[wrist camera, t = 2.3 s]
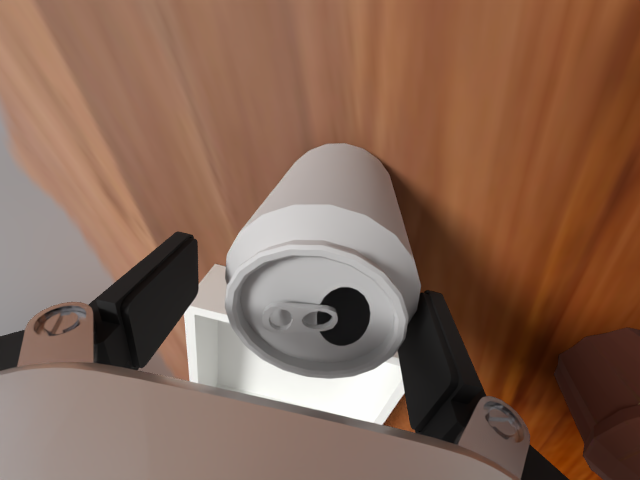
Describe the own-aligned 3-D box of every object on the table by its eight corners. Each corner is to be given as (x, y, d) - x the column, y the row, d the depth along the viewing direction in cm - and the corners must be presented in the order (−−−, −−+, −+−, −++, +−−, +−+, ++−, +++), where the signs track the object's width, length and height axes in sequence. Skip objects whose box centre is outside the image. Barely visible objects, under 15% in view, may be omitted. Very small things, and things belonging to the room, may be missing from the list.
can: (379, 247, 21) (397, 409, 11) (284, 232, 21) (214, 374, 11) (405, 148, 17) (471, 253, 7) (288, 132, 17) (185, 209, 7)
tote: (412, 313, 24) (424, 364, 20) (356, 413, 33) (355, 462, 29) (214, 263, 24) (183, 304, 20) (214, 377, 33) (193, 421, 29)
